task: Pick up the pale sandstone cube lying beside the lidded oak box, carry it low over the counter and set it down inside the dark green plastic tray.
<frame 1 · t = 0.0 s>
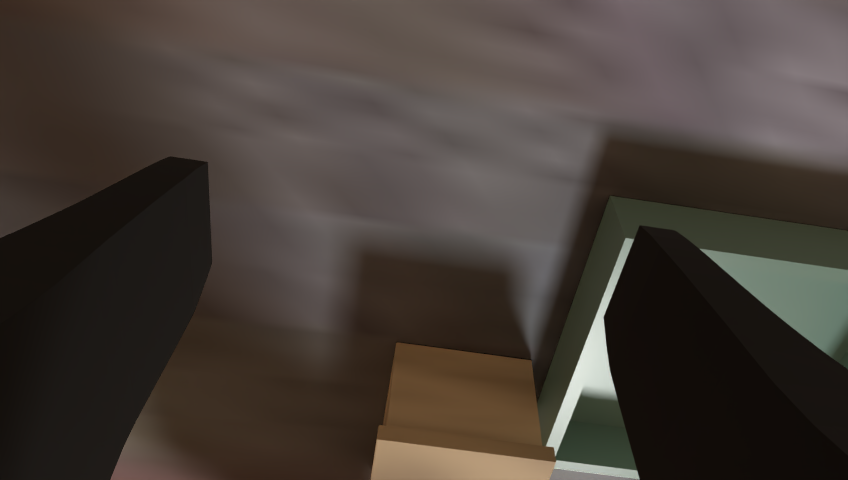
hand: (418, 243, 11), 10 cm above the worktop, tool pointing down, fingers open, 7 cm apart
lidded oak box: (446, 421, 29), on the worktop
tray: (707, 339, 26), on the worktop
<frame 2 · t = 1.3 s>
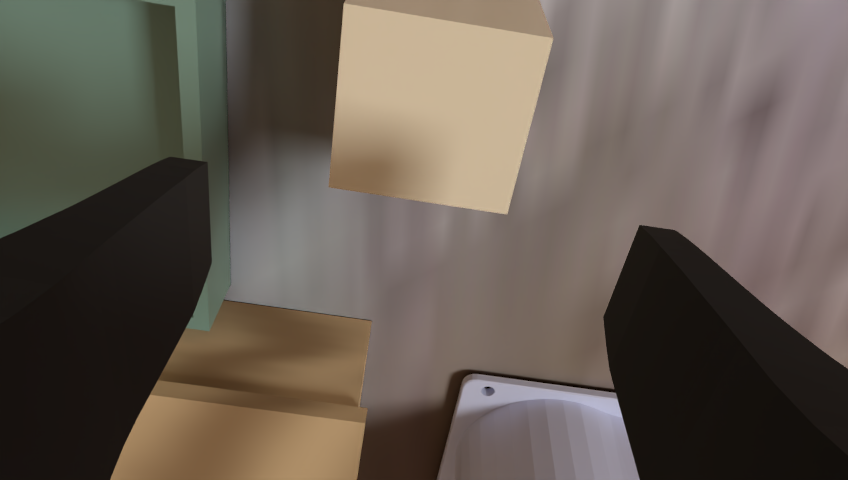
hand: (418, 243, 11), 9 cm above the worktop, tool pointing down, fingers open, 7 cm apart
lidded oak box: (257, 357, 26), on the worktop
sandstone cube: (437, 53, 19), on the worktop
tray: (49, 120, 21), on the worktop
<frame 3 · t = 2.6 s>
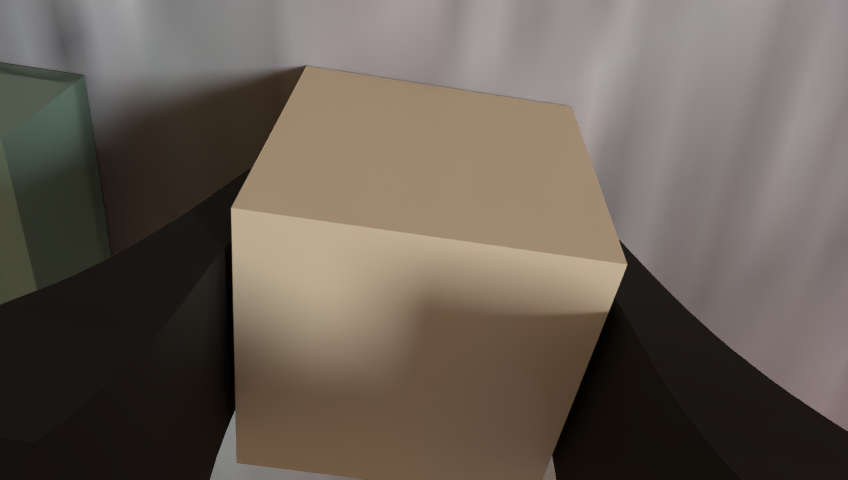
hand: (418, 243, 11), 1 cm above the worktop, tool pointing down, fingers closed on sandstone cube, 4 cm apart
sandstone cube: (421, 200, 13), on the worktop, touching gripper
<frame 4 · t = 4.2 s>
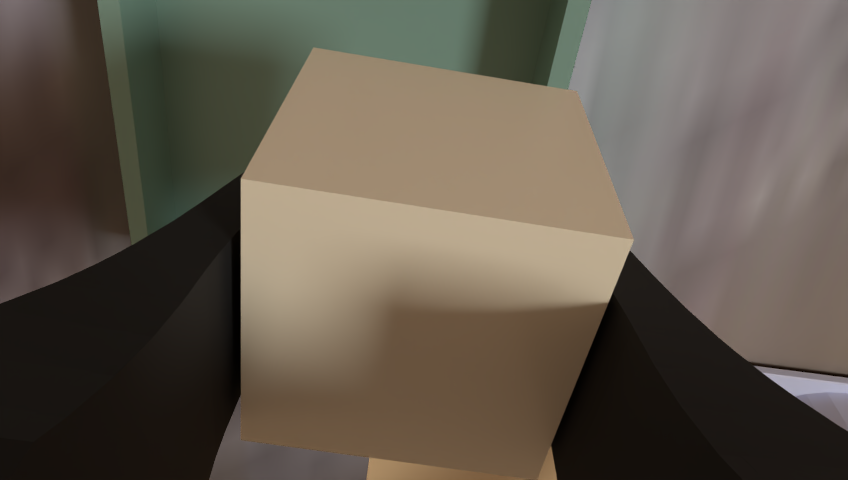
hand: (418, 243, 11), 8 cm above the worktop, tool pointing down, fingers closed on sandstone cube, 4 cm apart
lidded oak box: (510, 350, 24), on the worktop
sandstone cube: (425, 184, 13), point 7 cm above the worktop, touching gripper
tray: (346, 88, 19), on the worktop
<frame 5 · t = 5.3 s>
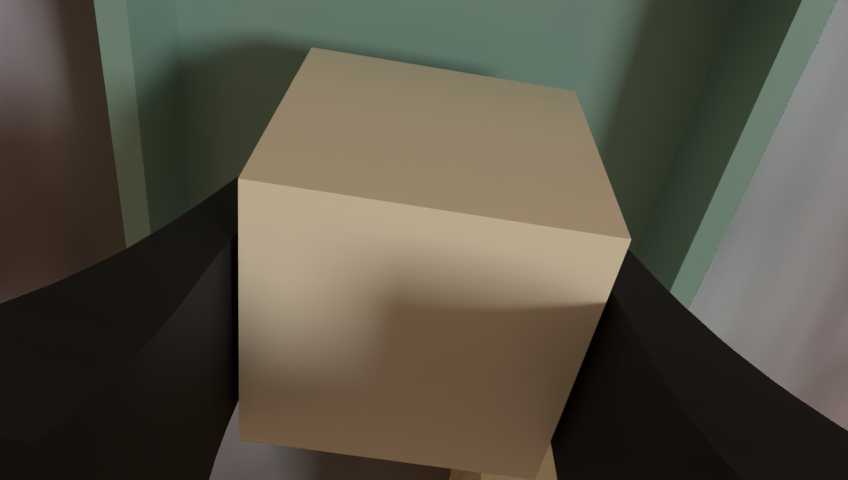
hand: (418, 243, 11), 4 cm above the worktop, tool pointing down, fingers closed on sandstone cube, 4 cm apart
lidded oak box: (601, 456, 20), on the worktop
sandstone cube: (424, 184, 13), point 2 cm above the worktop, touching gripper
tray: (426, 149, 14), on the worktop
when the fingers open (3 cm above the worktop, at t = 5.8 s): sandstone cube drops 1 cm, resting on tray.
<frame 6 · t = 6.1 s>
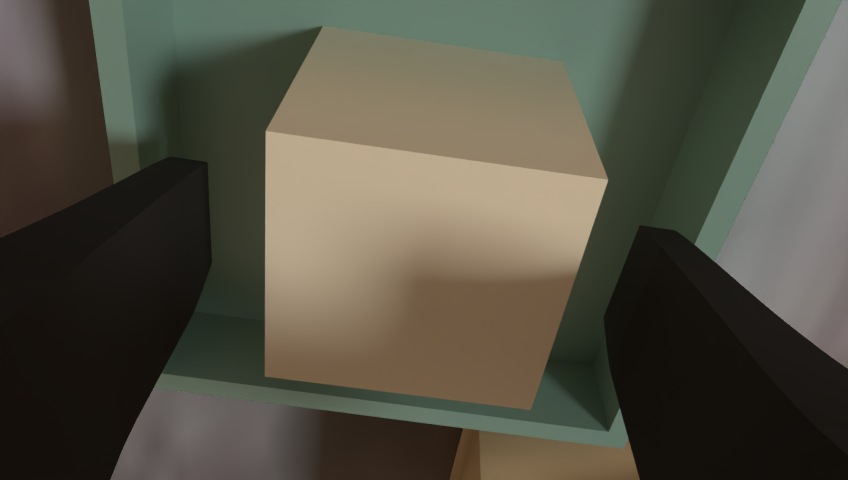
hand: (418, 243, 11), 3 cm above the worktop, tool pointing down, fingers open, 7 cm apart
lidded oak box: (601, 459, 20), on the worktop
sandstone cube: (427, 152, 14), resting on tray
tray: (426, 152, 14), on the worktop
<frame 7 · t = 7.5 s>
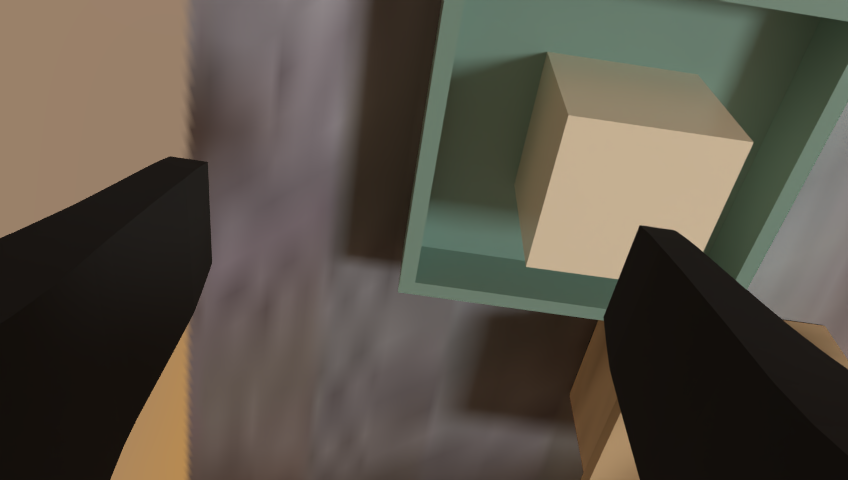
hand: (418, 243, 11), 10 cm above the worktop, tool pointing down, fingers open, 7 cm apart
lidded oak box: (690, 361, 27), on the worktop
sandstone cube: (600, 132, 21), resting on tray
tray: (596, 133, 21), on the worktop
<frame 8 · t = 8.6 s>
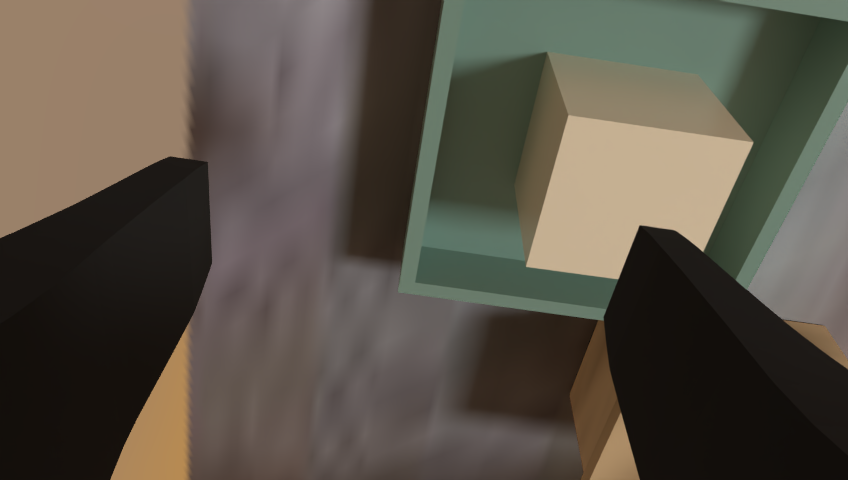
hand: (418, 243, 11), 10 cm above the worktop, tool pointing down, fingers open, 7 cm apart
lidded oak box: (690, 361, 27), on the worktop
sandstone cube: (600, 132, 21), resting on tray
tray: (596, 133, 21), on the worktop
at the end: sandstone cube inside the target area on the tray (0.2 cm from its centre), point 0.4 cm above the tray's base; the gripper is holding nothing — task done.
